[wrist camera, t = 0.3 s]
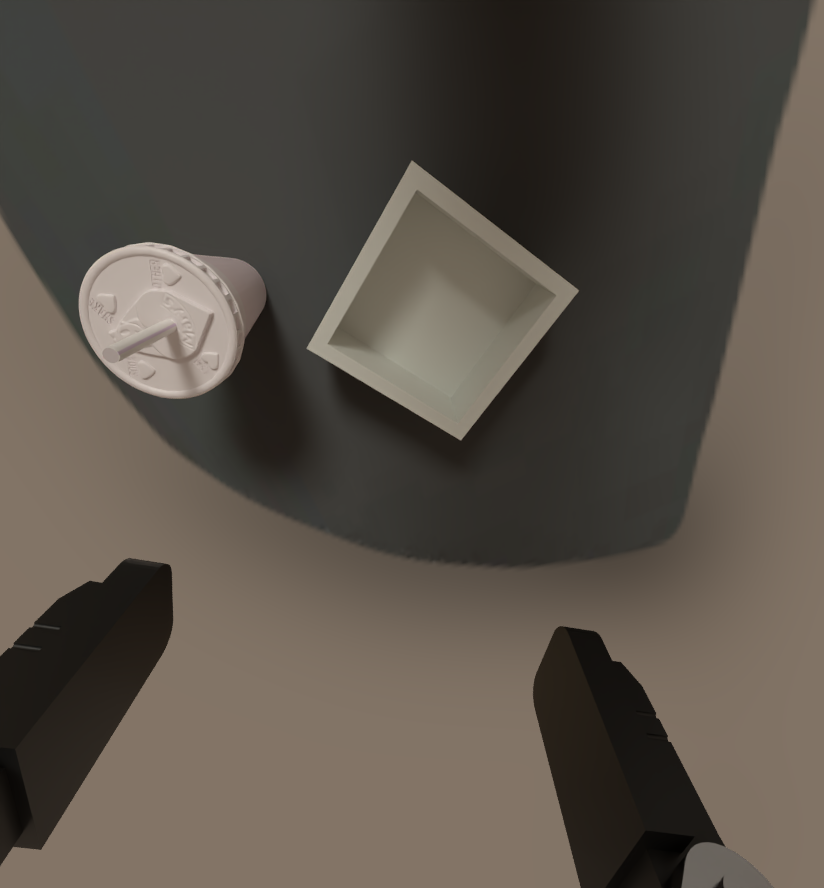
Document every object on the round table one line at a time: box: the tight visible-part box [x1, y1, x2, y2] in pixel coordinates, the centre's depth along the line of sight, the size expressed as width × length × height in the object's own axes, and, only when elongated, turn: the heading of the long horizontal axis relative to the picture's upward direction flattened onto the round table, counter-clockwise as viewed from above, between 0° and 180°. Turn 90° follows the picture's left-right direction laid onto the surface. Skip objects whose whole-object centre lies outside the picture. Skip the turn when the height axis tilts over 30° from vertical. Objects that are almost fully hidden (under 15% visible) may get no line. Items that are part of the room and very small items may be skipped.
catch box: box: [307, 161, 579, 440], centre depth 25 cm, size 10×10×5 cm
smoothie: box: [79, 242, 266, 399], centre depth 21 cm, size 6×6×14 cm
